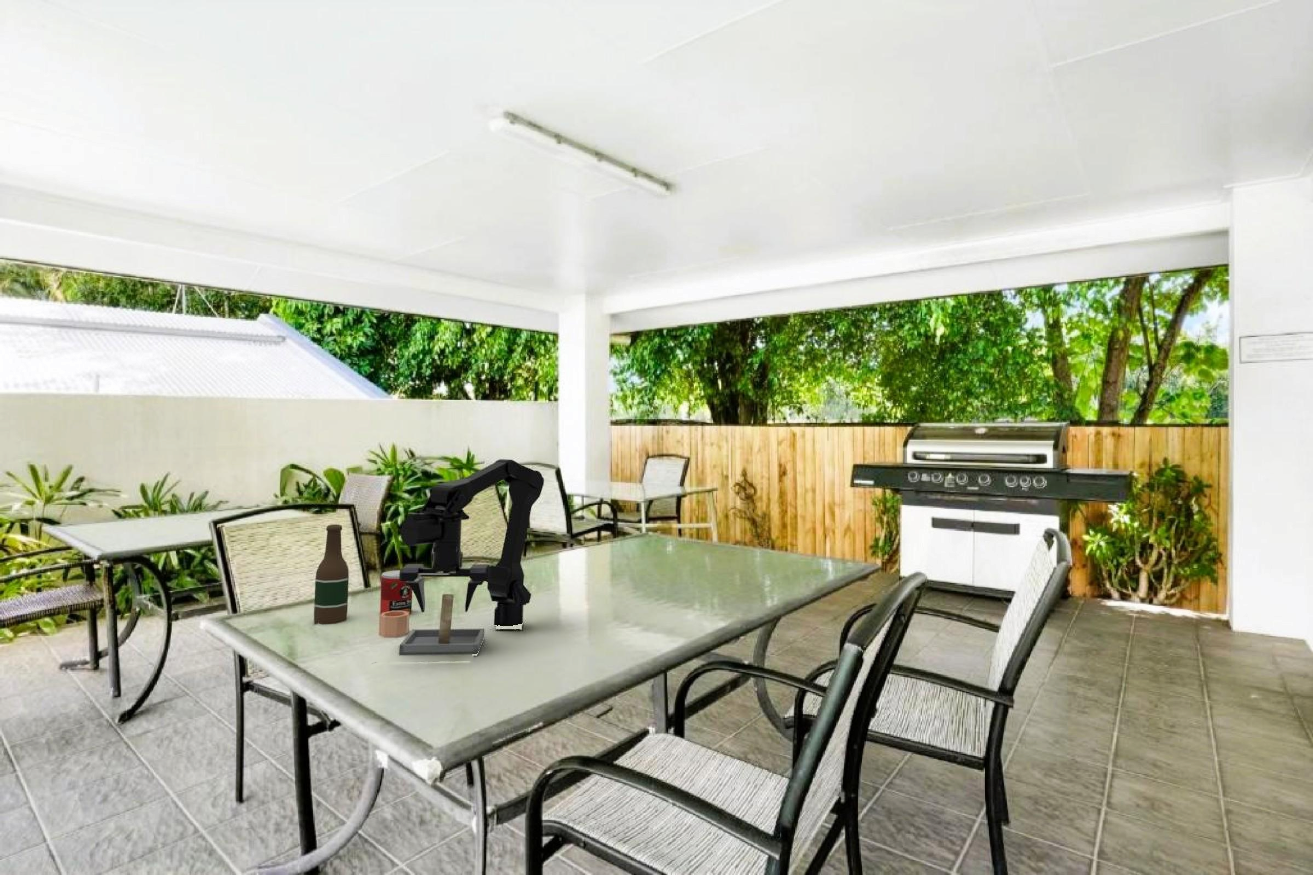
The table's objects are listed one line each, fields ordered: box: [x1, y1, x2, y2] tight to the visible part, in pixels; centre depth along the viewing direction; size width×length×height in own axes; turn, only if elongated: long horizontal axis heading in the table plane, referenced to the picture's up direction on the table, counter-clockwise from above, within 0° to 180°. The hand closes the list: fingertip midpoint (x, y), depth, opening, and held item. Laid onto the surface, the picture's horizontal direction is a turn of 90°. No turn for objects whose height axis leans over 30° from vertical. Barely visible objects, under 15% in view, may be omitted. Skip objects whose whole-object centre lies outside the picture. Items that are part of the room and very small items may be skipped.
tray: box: [398, 628, 485, 656], centre depth 144 cm, size 16×12×2 cm
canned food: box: [379, 569, 413, 616], centre depth 169 cm, size 8×8×11 cm
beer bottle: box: [313, 524, 350, 626], centre depth 161 cm, size 8×8×24 cm
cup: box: [378, 611, 410, 638], centre depth 152 cm, size 6×6×5 cm
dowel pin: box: [438, 593, 454, 644], centre depth 144 cm, size 2×2×10 cm
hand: (444, 611), depth 144 cm, fingers open, 9 cm apart
